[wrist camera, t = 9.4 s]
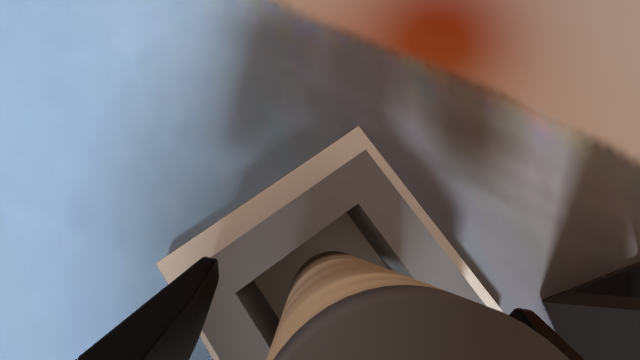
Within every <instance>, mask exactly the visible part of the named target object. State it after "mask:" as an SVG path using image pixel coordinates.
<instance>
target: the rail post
mask: <svg viewBox="0 0 640 360" xmlns="http://www.w3.org/2000/svg"><path fill="white" fill-rule="evenodd" d="M266 360H570V359H569V358H568V357H567V356H565V355H564V354H563V353H562V352H561V351H560V350H559V349H558V348H556V347H555V346H554V345H553V344H552V343H551V342H550V341H549V340H547V339H546V338H544V337H543V336H542V335H540V334H539V333H537V332H536V331H534V330H533V329H532V328H530V327H529V326H527V325H526V324H524V323H522V322H520V321H518V320H516V319H515V318H513V317H511V316H509V315H507V314H505V313H503V312H501V311H498V310H496V309H493V308H490V307H488V306H485V305H482V304H480V303H477V302H474V301H472V300H469V299H466V298H464V297H461V296H458V295H456V294H453V293H450V292H448V291H445V290H443V289H440V288H437V287H435V286H432V285H429V284H427V283H424V282H421V281H419V280H416V279H413V278H411V277H408V276H405V275H403V274H400V273H397V272H395V271H392V270H389V269H387V268H384V267H381V266H379V265H376V264H374V263H371V262H368V261H366V260H363V259H360V258H358V257H355V256H352V255H350V254H347V253H344V252H340V251H327V252H322V253H319V254H317V255H315V256H313V257H311V258H310V259H308V260H307V261H306V262H305V263H304V264H303V265H302V266H301V268H300V269H299V271H298V272H297V274H296V276H295V279H294V281H293V284H292V287H291V290H290V293H289V296H288V299H287V301H286V304H285V307H284V310H283V313H282V316H281V319H280V322H279V324H278V327H277V330H276V333H275V336H274V339H273V342H272V345H271V347H270V350H269V353H268V356H267V359H266Z"/></svg>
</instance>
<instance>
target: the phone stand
mask: <svg viewBox="0 0 640 360" xmlns="http://www.w3.org/2000/svg"><path fill="white" fill-rule="evenodd" d="M542 301H543V304H544V306H545V308H546V310H547V313H548V315H549V317H550V319H551V322H552V324H553V326H554V328H555V331H556V333H557V334H558V335H559V336H560V337H561V338H562V339H563V340H564V341H566V342H567V343H568V344H569V345H570V346H571V347H572V348H573V349H574V350H575V351H576V352H577V353H578V354H580V355H581V356H582V357H583V358H584V359H585V360H640V262H638V263H636V264H633V265H630V266H628V267H625V268H623V269H620V270H618V271H615V272H612V273H610V274H607V275H606V277H600V278H597V279H594V280H592V281H589V282H587V283H584V284H582V285H579V286H576V287H574V288H571V289H569V290H566V291H564V292H561V293H558V294H556V295H553V296H551V297H548V298H546V299H543V300H542Z"/></svg>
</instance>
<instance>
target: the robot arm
mask: <svg viewBox="0 0 640 360" xmlns="http://www.w3.org/2000/svg"><path fill="white" fill-rule="evenodd" d="M218 281H219V267H218V260H217V259H216V258H212V257H202V258H201V259H199V260H198V261H197V262H196V263H194V264H193V265H192V266H191V267H189V268H188V269H187V270H186V271H185V272H183V273H182V274H181V275H180V276H178V277H177V278H176V279H175V280H173V281H172V282H171V283H170V284H168V285H167V286H166V287H165V288H163V289H162V290H161V291H160V292H158V293H157V294H156V295H155V296H153V297H152V298H151V299H150V300H149V301H147V302H146V303H145V304H144V305H142V306H141V307H140V308H139V309H137V310H136V311H135V312H134V313H132V314H131V315H130V316H129V317H127V318H126V319H125V320H124V321H122V322H121V323H120V324H119V325H117V326H116V327H115V328H114V329H112V330H111V331H110V332H109V333H108V334H106V335H105V336H104V337H103V338H101V339H100V340H99V341H98V342H96V343H95V344H94V345H93V346H91V347H90V348H89V349H88V350H86V351H85V352H84V353H83V354H81V355H80V356H79V358H78V360H189V359H190V356H191V354H192V352H193V350H194V348H195V346H196V343H197V341H198V339H199V337H200V334H201V331H202V329H203V326H204V323H205V320H206V317H207V314H208V311H209V308H210V305H211V302H212V299H213V296H214V294H215V291H216V288H217V285H218ZM509 316H511V317H513V318H515V319H516V320H518V321H520V322H522V323H524V324H526V325H527V326H529V327H530V328H532V329H533V330H534V331H536V332H537V333H539V334H540V335H542V336H543V337H544V338H546V339H547V340H549V341H550V342H551V343H552V344H553V345H554V346H555V347H556V348H558V349H559V350H560V351H561V352H562V353H563V354H564V355H565V356H567V357H568V358H569V359H570V360H585V359H584V358H583V357H582V356H581V355H580V354H578V353H577V352H576V351H575V350H574V349H573V348H572V347H571V346H570V345H569V344H568V343H567V342H566V341H564V340H563V339H562V338H561V337H560V336H559V335H558V334H557V333H556V332H555V331H554V330H553V329H552V328H550V327H549V326H548V325H547V324H546V323H545V322H544V321H543V320H542V319H541V318H540V317H539V316H537V315H536V314H535V313H534V312H533V311H531V310H527V309H521V308H516V309H514V310H513V311H512V312H511V313H510V315H509ZM76 360H77V359H76Z"/></svg>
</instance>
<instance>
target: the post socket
mask: <svg viewBox="0 0 640 360" xmlns="http://www.w3.org/2000/svg"><path fill="white" fill-rule="evenodd" d="M327 251H340V252H344V253H347V254H350V255H352V256H355V257H358V258H360V259H363V260H366V261H368V262H371V263H374V264H376V265H379V266H381V267H384V268H387V269H389V270H392V271H395V272H397V273H400V274H403V275H405V276H408V277H411V278H413V279H416V280H419V281H421V282H424V283H427V284H429V285H432V286H435V287H437V288H440V289H443V290H445V291H448V292H450V293H453V294H456V295H458V296H461V297H464V298H466V299H469V300H472V301H474V302H477V303H480V304H482V305H485V306H488V307H490V308H493V309H496V310H498V311H501V312H503V311H502V310H501V309H500V307H499V306H498V305H497V303H496V302H495V301H494V300H493V298H492V297H491V296H490V294H489V293H488V292H487V291H486V289H485V288H484V287H483V285H482V284H481V283H480V282H479V280H478V279H477V278H476V276H475V275H474V274H473V273H472V271H471V270H470V269H469V267H468V266H467V265H466V264H465V262H464V261H463V260H462V258H461V257H460V256H459V255H458V253H457V252H456V251H455V249H454V248H453V247H452V245H451V244H450V243H449V242H448V240H447V239H446V238H445V236H444V235H443V234H442V233H441V231H440V230H439V229H438V227H437V226H436V225H435V224H434V222H433V221H432V220H431V218H430V217H429V216H428V215H427V213H426V212H425V211H424V209H423V208H422V207H421V206H420V204H419V203H418V202H417V200H416V199H415V198H414V197H413V195H412V194H411V193H410V191H409V190H408V189H407V188H406V186H405V185H404V184H403V182H402V181H401V180H400V179H399V177H398V176H397V175H396V173H395V172H394V171H393V170H392V168H391V167H390V166H389V164H388V163H387V162H386V161H385V159H384V158H383V157H382V155H381V154H380V153H379V152H378V150H377V149H376V148H375V146H374V145H373V144H372V143H371V141H370V140H369V139H368V137H367V136H366V135H365V133H364V132H363V131H362V130H361V128H360V127H359V126H358V127H356V128H355V129H353V130H352V131H351V132H349V133H348V134H346V135H345V136H343V137H342V138H340V139H339V140H337V141H336V142H334V143H333V144H331V145H330V146H328V147H327V148H325V149H324V150H323V151H321V152H320V153H318V154H317V155H315V156H314V157H312V158H311V159H309V160H308V161H306V162H305V163H303V164H302V165H300V166H299V167H297V168H296V169H294V170H293V171H292V172H290V173H289V174H287V175H286V176H284V177H283V178H281V179H280V180H278V181H277V182H275V183H274V184H272V185H271V186H269V187H268V188H266V189H265V190H263V191H262V192H261V193H259V194H258V195H256V196H255V197H253V198H252V199H250V200H249V201H247V202H246V203H244V204H243V205H241V206H240V207H238V208H237V209H235V210H234V211H233V212H231V213H230V214H228V215H227V216H225V217H224V218H222V219H221V220H219V221H218V222H216V223H215V224H213V225H212V226H210V227H209V228H207V229H206V230H204V231H203V232H202V233H200V234H199V235H197V236H196V237H194V238H193V239H191V240H190V241H188V242H187V243H185V244H184V245H182V246H181V247H179V248H178V249H176V250H175V251H174V252H172V253H171V254H169V255H168V256H166V257H165V258H163V259H162V260H160V261H159V262H157V263H156V265H157V266H158V268H159V270H160V271H161V273H162V275H163V276H164V278H165V280H166V281H167V283H168V284H170V283H171V282H172V281H173V280H175V279H176V278H177V277H178V276H180V275H181V274H182V273H183V272H185V271H186V270H187V269H188V268H189V267H191V266H192V265H193V264H194V263H196V262H197V261H198V260H199V259H201V258H202V257H212V258H216V259H217V260H218V267H219V281H218V285H217V288H216V291H215V294H214V296H213V299H212V302H211V305H210V308H209V311H208V314H207V317H206V320H205V323H204V326H203V329H202V331H201V334H200V338H201V340H202V341H203V343H204V345H205V346H206V348H207V350H208V351H209V353H210V355H211V356H212V358H213V360H266V359H267V356H268V353H269V350H270V347H271V345H272V342H273V339H274V336H275V333H276V330H277V327H278V324H279V322H280V319H281V316H282V313H283V310H284V307H285V304H286V301H287V299H288V296H289V293H290V290H291V287H292V284H293V281H294V279H295V276H296V274H297V272H298V271H299V269H300V268H301V266H302V265H303V264H304V263H305V262H306V261H307V260H308V259H310V258H311V257H313V256H315V255H317V254H319V253H322V252H327ZM503 313H504V312H503Z"/></svg>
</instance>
